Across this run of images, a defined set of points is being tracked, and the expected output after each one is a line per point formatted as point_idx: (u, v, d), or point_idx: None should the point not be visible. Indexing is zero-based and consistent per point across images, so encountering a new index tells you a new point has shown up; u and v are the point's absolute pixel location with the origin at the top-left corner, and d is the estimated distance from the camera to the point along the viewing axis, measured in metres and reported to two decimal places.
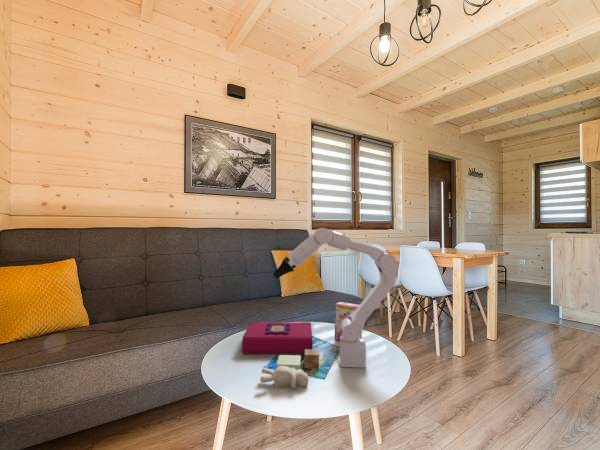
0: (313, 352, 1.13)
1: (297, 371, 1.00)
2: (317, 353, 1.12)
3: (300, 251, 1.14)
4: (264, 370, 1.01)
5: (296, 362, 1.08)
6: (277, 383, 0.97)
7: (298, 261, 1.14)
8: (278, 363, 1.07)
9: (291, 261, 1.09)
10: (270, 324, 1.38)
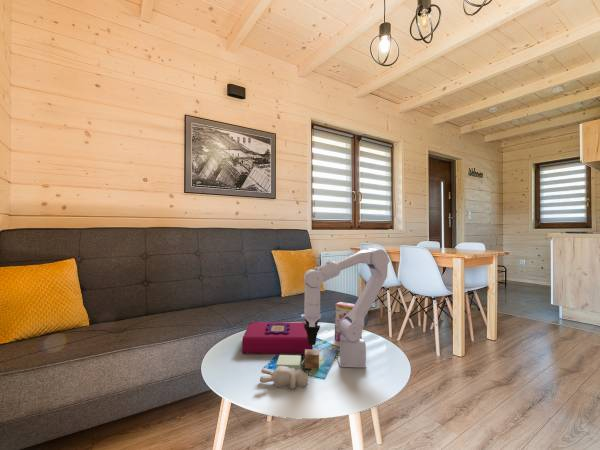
0: (313, 352, 1.13)
1: (297, 371, 1.00)
2: (317, 353, 1.12)
3: (309, 307, 1.11)
4: (264, 370, 1.01)
5: (295, 362, 1.08)
6: (277, 383, 0.97)
7: (316, 315, 1.11)
8: (278, 363, 1.07)
9: (311, 323, 1.06)
10: (270, 324, 1.38)
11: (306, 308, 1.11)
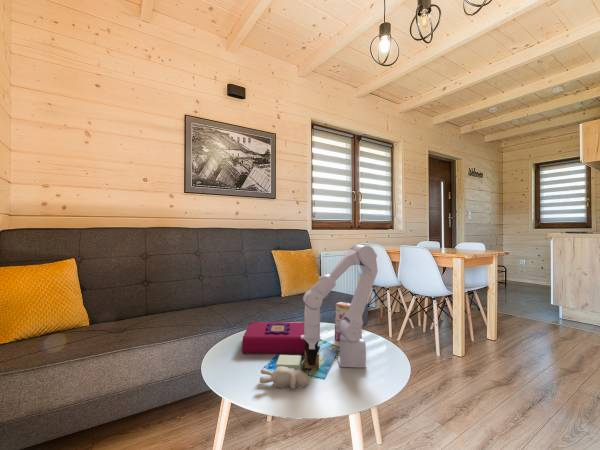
0: None
1: (296, 371, 1.00)
2: (317, 353, 1.12)
3: (309, 328, 1.10)
4: (263, 371, 1.01)
5: (295, 362, 1.08)
6: (277, 384, 0.97)
7: (316, 336, 1.11)
8: (278, 363, 1.07)
9: (310, 345, 1.06)
10: (270, 324, 1.38)
11: (306, 329, 1.11)
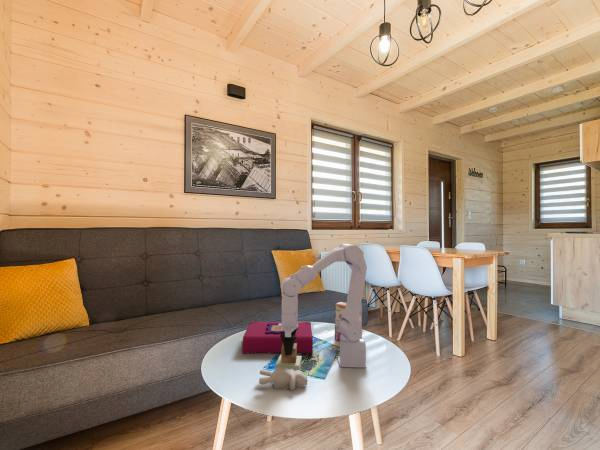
0: None
1: (296, 372, 0.99)
2: (294, 347, 1.09)
3: (286, 316, 1.08)
4: (262, 372, 1.00)
5: None
6: (276, 385, 0.96)
7: (293, 324, 1.08)
8: (277, 363, 1.08)
9: (286, 333, 1.03)
10: (270, 324, 1.38)
11: (283, 317, 1.09)
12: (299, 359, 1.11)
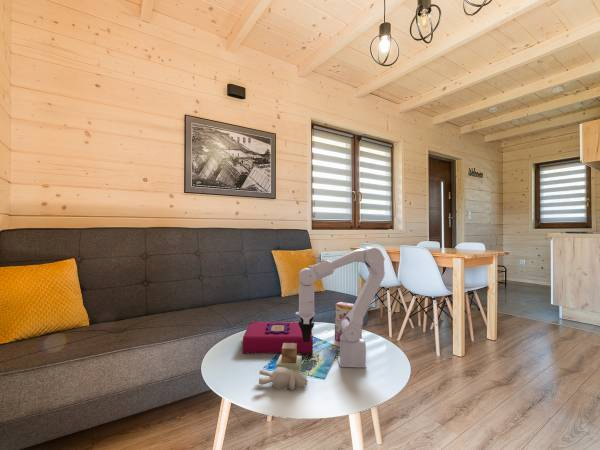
0: (290, 345, 1.10)
1: (295, 372, 0.99)
2: (295, 347, 1.09)
3: (304, 304, 1.13)
4: (262, 372, 1.00)
5: None
6: (276, 385, 0.96)
7: (310, 312, 1.13)
8: (278, 363, 1.08)
9: (305, 320, 1.08)
10: (270, 324, 1.38)
11: (300, 306, 1.13)
12: (299, 359, 1.11)
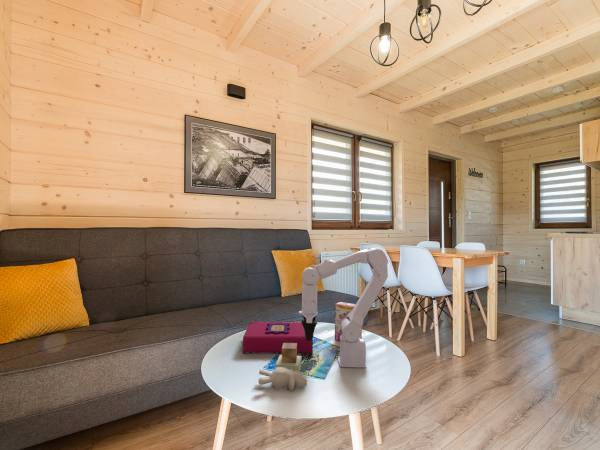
0: (290, 345, 1.10)
1: (295, 372, 0.99)
2: (295, 347, 1.09)
3: (307, 303, 1.14)
4: (262, 372, 1.00)
5: None
6: (275, 385, 0.96)
7: (313, 311, 1.14)
8: (277, 363, 1.08)
9: (308, 319, 1.09)
10: (270, 324, 1.38)
11: (303, 305, 1.14)
12: (299, 359, 1.11)
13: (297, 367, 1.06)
